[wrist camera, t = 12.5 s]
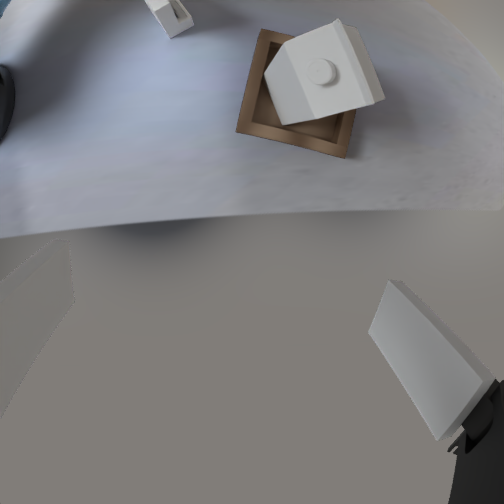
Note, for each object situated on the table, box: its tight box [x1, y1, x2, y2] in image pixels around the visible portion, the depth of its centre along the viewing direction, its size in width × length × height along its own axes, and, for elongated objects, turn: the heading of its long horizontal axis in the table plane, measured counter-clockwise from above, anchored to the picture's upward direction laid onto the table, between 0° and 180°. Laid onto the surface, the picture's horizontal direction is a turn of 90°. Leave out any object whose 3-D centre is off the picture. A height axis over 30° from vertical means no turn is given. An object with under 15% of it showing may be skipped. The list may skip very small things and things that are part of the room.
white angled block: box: [144, 0, 194, 39], centre depth 27 cm, size 4×10×9 cm
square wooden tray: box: [236, 29, 357, 159], centre depth 34 cm, size 14×14×3 cm
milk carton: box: [262, 18, 385, 125], centre depth 26 cm, size 7×7×19 cm
